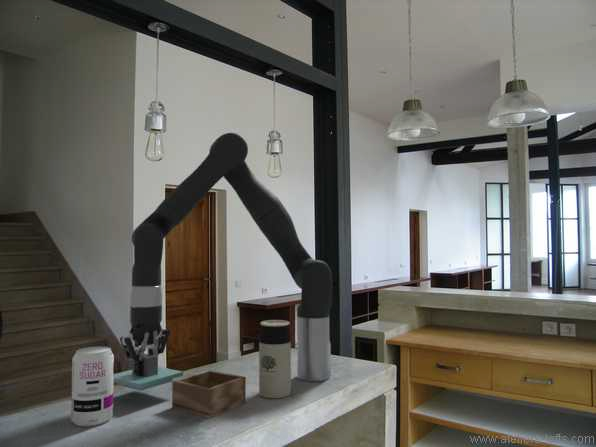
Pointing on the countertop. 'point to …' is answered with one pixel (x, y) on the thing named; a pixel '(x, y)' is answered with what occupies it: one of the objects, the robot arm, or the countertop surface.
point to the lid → (146, 375)
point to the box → (208, 393)
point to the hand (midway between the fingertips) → (145, 373)
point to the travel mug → (274, 359)
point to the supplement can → (92, 386)
